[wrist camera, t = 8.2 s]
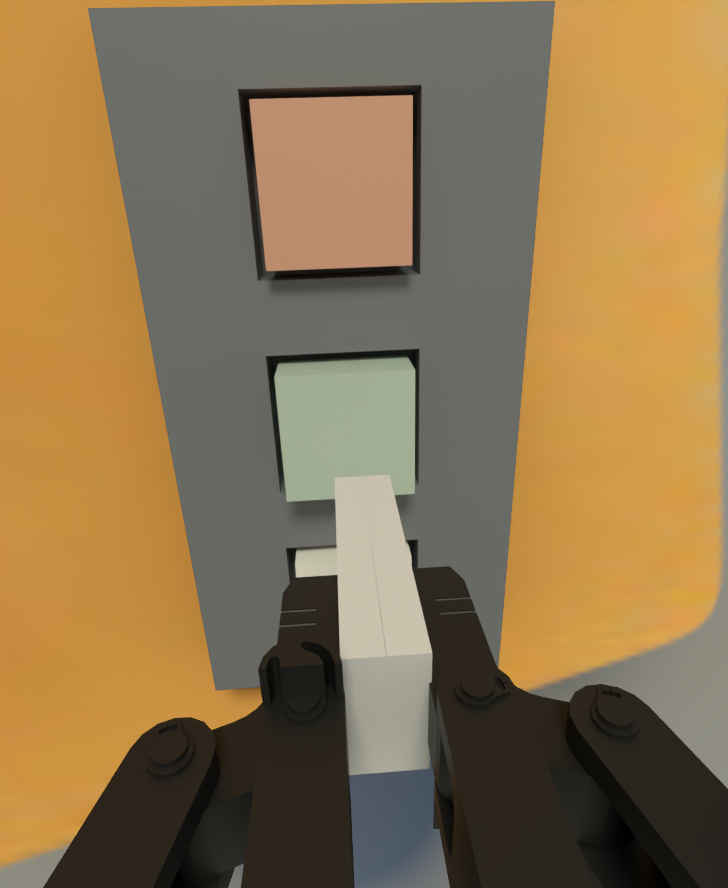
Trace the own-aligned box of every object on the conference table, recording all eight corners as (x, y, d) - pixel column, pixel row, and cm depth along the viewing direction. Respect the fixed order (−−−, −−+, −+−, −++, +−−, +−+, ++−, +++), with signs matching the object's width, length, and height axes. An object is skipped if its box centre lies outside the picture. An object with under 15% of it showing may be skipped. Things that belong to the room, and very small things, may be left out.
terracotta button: (271, 265, 21) (266, 271, 18) (257, 111, 19) (249, 99, 17) (403, 260, 21) (412, 265, 19) (402, 107, 19) (412, 95, 17)
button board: (224, 652, 29) (215, 690, 27) (117, 33, 18) (88, 8, 16) (484, 632, 30) (498, 667, 27) (526, 26, 19) (554, 1, 17)
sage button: (289, 476, 23) (286, 501, 21) (278, 361, 21) (274, 376, 19) (406, 469, 23) (414, 493, 21) (406, 355, 21) (415, 369, 19)
